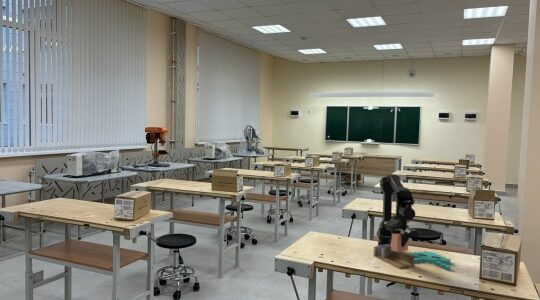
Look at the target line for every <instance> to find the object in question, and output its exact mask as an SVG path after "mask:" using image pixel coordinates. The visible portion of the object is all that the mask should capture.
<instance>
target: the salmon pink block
mask: <svg viewBox="0 0 540 300" xmlns="http://www.w3.org/2000/svg"><path fill="white" fill-rule="evenodd" d="M400 234H403V232H401V233H395V234H392V239H391V250H393V251H395V252H407V251H409V250H408V249H409V240H408V241H407V243H406V244H405V246H404V247H402V237H401V235H400Z"/></svg>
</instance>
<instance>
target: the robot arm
mask: <svg viewBox="0 0 540 300" xmlns="http://www.w3.org/2000/svg"><path fill="white" fill-rule="evenodd" d="M400 180H401V179H399V175H396V174H387V176H384V177H382V178H381V179H380V180H379V186H380V191H381V193H382V194H383V195H382V197H383V198H382V202H383V203H382V220H381V222H380V223H379V227H378V229H377V231H376V237H377V238H378V241H377V246H378V245H385V244H388V245H390V246H391V242H392V234H395V233H403V234H400V235H401V237H402V247H404V246H405V244H406V243H407V241H408V242H409V240H410V238H412V237H419V235H420V231H419V230H418V229H416V228H413V227H411V228H410V225H408V221H410V220H413V219H414V218H415V217H416V210H415V209H414V208H413V207H412V206H414V205H415V204H414V202H415V201H414V197H413V193H412V192H411V190H410V189H409V188H408V187H405V186H404V185H403V183H402V182H401V181H400ZM393 193H394V194H393ZM393 195H394V196H393ZM393 197H394V201H395V215H393V217H392V214H393V213H392V211H393V210H392V208H393Z"/></svg>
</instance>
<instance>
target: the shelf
mask: <svg viewBox="0 0 540 300" xmlns="http://www.w3.org/2000/svg"><path fill="white" fill-rule="evenodd" d="M373 248H374V249H373V257H375V258H377V259H379V260H381V261H383V262H385V263H386V264H389V265H391V266H393V267H395V268H397V269H399V270H401V269H409V268H413V267H414V266H415V263H414V256H411V255H409V253H407V252H406V251H402V252H395V251H393V250H391V246H390V245H388V244H385V245H378V244H377V246H374V247H373Z"/></svg>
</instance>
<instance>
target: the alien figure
mask: <svg viewBox="0 0 540 300" xmlns="http://www.w3.org/2000/svg"><path fill="white" fill-rule="evenodd" d="M408 254H409V255H411V256H414V264H417V263H418V264H419V263H420V264H422V263H426V262H427V263H428V264H432V263H433V264H434V265H435V266H436V267H439V268H441V269H444V270H445V271H448V272H451V263H452V262H451V258H447V257H446V256H442V254H438V253H436V252H433V251H426V250H424V251H418V252H416V251H414V252H408ZM427 263H426V264H427Z"/></svg>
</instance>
